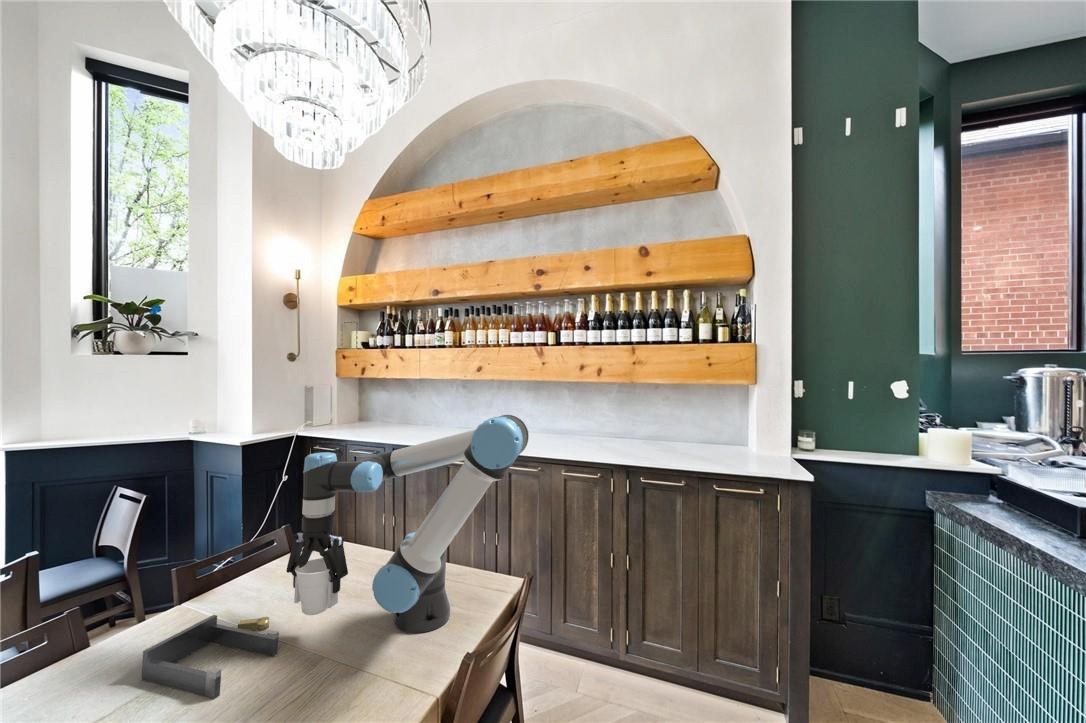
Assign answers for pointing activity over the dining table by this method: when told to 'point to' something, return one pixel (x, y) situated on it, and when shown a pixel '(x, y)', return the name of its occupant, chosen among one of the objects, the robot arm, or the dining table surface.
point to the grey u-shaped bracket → (181, 645)
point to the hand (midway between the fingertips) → (316, 602)
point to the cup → (313, 586)
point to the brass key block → (254, 624)
